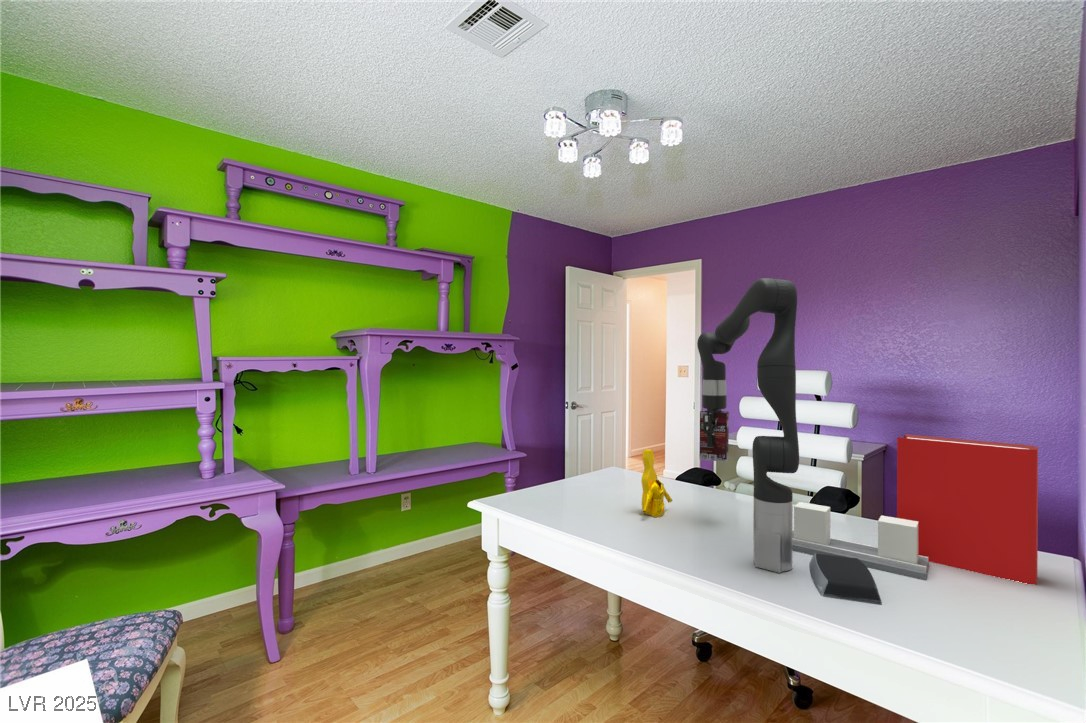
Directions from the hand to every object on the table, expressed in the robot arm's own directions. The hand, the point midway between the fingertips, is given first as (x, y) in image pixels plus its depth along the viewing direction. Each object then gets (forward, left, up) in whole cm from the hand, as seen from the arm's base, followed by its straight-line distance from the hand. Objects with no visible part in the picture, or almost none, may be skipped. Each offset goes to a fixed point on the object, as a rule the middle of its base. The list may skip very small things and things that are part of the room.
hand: (714, 445), depth 165 cm
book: (+8, -62, -25) cm, 68 cm away
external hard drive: (-24, -40, -26) cm, 54 cm away
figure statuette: (-5, +19, -25) cm, 32 cm away
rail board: (-4, -40, -25) cm, 47 cm away
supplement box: (0, 0, -5) cm, 5 cm away
